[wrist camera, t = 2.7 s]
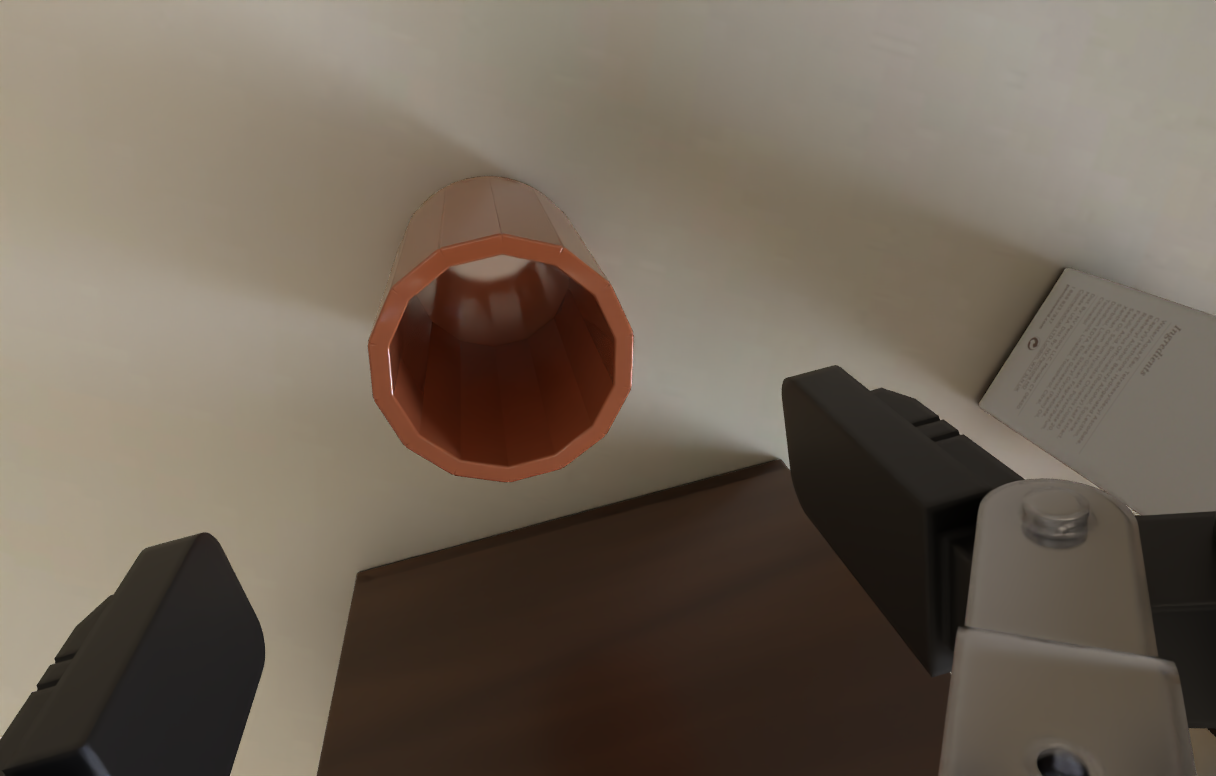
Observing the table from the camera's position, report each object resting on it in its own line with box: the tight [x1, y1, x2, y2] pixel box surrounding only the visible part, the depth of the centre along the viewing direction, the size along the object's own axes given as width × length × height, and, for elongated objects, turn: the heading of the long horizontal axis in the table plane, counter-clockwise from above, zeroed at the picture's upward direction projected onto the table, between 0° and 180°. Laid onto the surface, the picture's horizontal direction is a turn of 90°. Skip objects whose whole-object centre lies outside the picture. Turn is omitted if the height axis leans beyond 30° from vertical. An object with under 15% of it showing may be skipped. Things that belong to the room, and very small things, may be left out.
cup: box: [368, 176, 634, 482], centre depth 19 cm, size 5×5×8 cm
